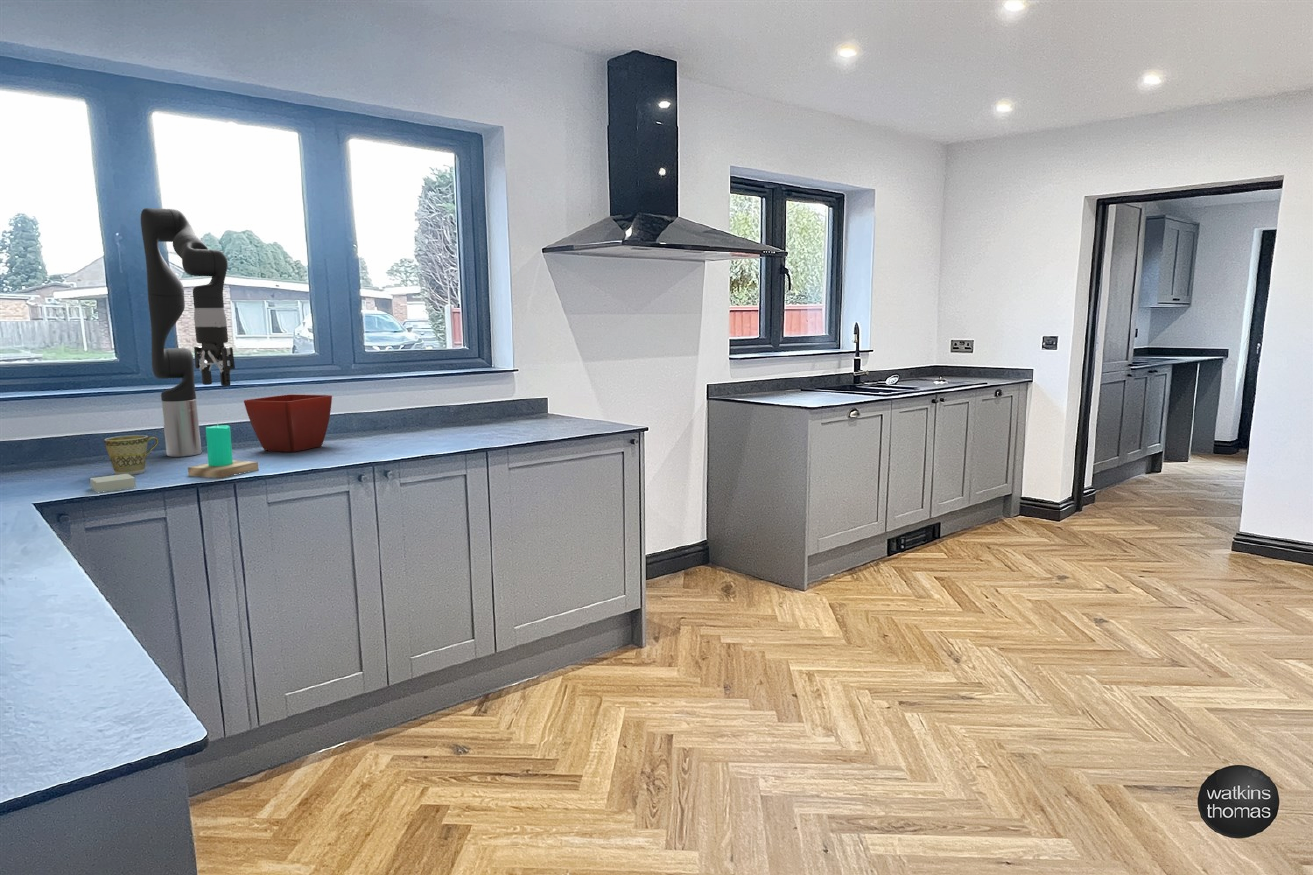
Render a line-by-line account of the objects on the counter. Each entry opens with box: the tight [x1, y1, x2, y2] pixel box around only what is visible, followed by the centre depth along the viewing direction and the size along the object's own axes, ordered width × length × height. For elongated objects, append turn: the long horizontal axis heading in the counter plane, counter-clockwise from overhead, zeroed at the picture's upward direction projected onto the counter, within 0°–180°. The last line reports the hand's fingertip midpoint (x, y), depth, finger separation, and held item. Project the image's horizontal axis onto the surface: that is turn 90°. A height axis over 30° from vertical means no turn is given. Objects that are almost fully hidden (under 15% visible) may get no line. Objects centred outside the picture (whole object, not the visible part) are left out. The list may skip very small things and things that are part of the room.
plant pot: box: [243, 393, 333, 453], centre depth 253 cm, size 19×19×17 cm
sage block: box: [89, 474, 137, 493], centre depth 197 cm, size 8×8×3 cm
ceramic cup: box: [103, 434, 159, 476], centre depth 216 cm, size 13×10×10 cm
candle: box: [205, 420, 233, 466], centre depth 215 cm, size 6×6×12 cm
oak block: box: [187, 459, 259, 479], centre depth 215 cm, size 12×12×3 cm
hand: (216, 385), depth 213 cm, fingers open, 8 cm apart
